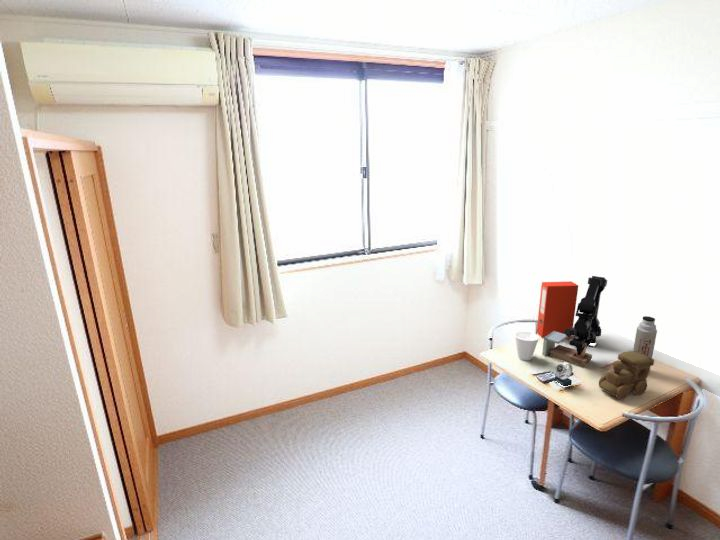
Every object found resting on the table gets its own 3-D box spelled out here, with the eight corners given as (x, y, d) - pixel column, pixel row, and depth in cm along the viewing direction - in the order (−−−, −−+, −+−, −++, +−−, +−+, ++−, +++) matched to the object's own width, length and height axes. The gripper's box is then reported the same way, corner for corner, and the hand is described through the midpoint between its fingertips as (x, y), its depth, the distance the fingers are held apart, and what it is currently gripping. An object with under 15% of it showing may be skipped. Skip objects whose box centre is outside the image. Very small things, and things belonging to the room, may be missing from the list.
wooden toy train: (627, 380, 195) (632, 348, 191) (650, 393, 185) (657, 360, 180) (594, 389, 189) (599, 356, 185) (616, 402, 179) (622, 368, 174)
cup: (530, 351, 226) (532, 330, 222) (540, 362, 214) (543, 340, 211) (509, 352, 225) (511, 331, 222) (518, 363, 214) (520, 341, 211)
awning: (551, 347, 230) (553, 331, 227) (565, 351, 224) (567, 335, 222) (542, 354, 222) (544, 337, 219) (556, 359, 216) (558, 342, 214)
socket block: (558, 350, 226) (558, 344, 225) (591, 360, 214) (592, 354, 213) (550, 356, 220) (550, 350, 219) (583, 367, 208) (584, 361, 207)
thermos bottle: (647, 376, 198) (657, 322, 191) (628, 371, 204) (637, 318, 196) (650, 370, 204) (660, 317, 196) (631, 365, 209) (640, 313, 202)
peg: (577, 354, 216) (579, 340, 214) (585, 357, 213) (587, 343, 211) (574, 357, 213) (576, 343, 211) (582, 360, 210) (584, 345, 208)
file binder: (571, 337, 241) (578, 285, 232) (542, 338, 241) (547, 286, 232) (565, 331, 249) (571, 281, 240) (536, 332, 249) (541, 281, 240)
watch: (551, 383, 195) (553, 362, 192) (564, 379, 197) (567, 359, 194) (560, 389, 190) (563, 367, 187) (574, 385, 192) (576, 364, 189)
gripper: (575, 316, 220) (571, 343, 224) (560, 326, 208) (556, 354, 212) (597, 322, 212) (593, 349, 216) (583, 333, 200) (579, 362, 204)
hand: (580, 353), depth 213 cm, fingers closed on peg, 4 cm apart
